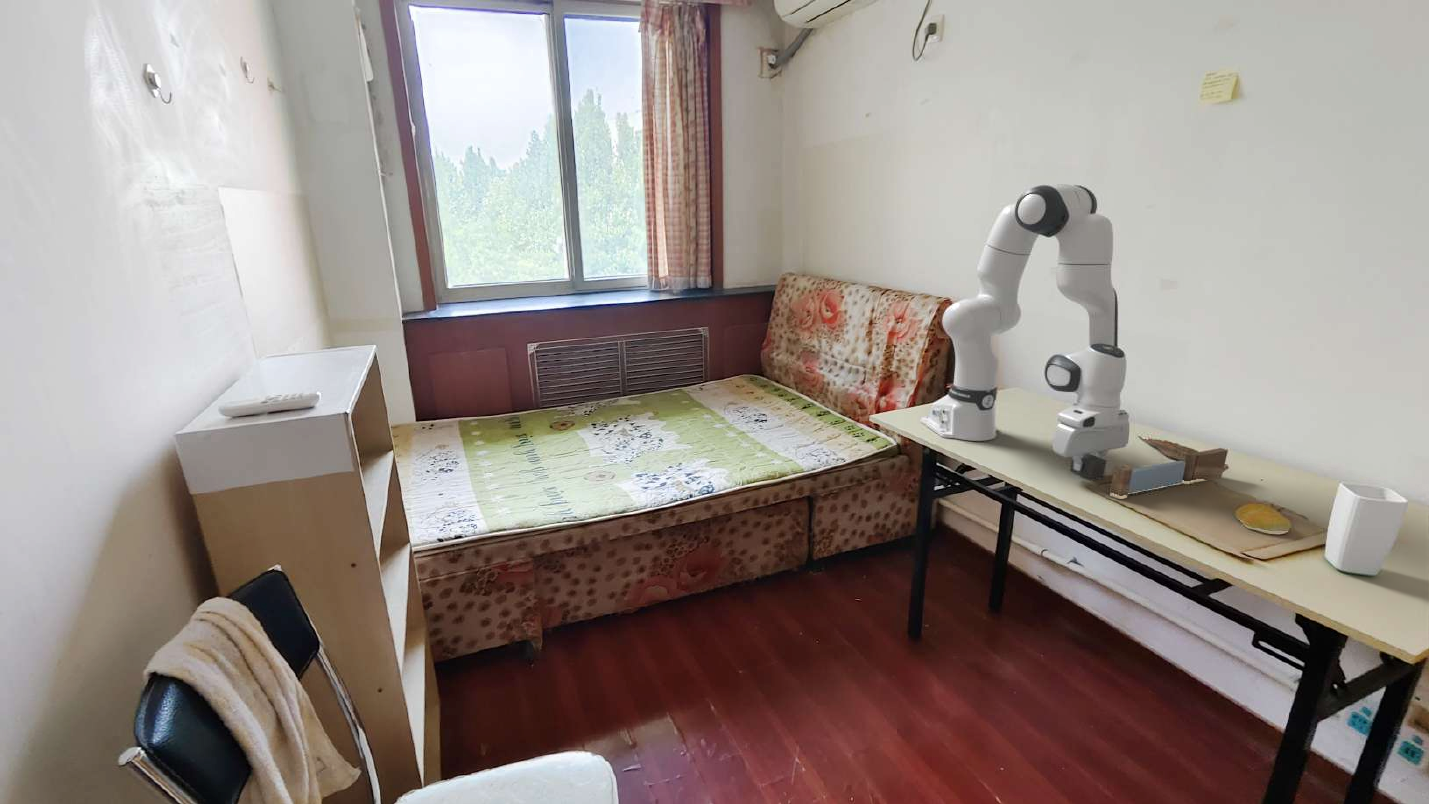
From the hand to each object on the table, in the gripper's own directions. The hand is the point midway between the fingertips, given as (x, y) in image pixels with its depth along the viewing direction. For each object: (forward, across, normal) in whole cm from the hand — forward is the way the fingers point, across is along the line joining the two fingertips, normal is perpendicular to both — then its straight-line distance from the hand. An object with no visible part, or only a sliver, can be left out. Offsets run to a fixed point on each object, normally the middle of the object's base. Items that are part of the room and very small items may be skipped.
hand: (1087, 468), depth 155 cm
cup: (+2, -8, +48) cm, 49 cm away
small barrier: (+2, -11, +12) cm, 17 cm away
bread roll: (+2, -11, +32) cm, 34 cm away
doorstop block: (+2, 0, 0) cm, 2 cm away
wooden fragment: (+2, -34, -2) cm, 34 cm away
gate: (+1, -6, +12) cm, 14 cm away
